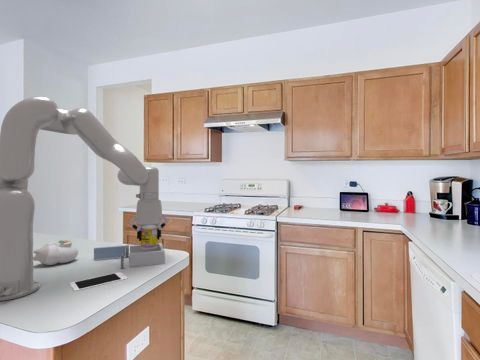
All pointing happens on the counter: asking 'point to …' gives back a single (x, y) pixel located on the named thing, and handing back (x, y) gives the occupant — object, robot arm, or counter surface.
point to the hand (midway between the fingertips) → (149, 239)
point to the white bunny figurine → (56, 253)
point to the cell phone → (97, 281)
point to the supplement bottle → (148, 237)
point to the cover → (111, 252)
